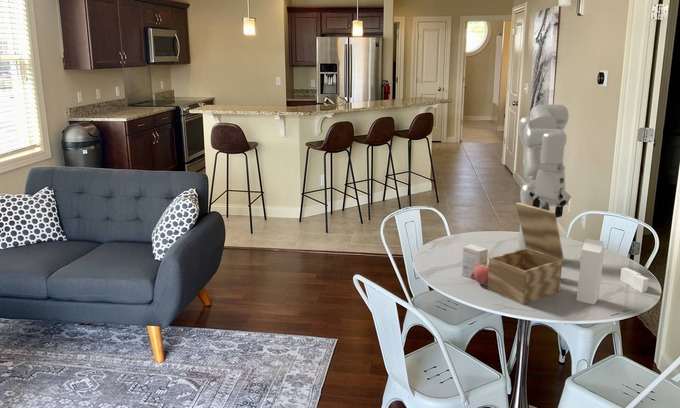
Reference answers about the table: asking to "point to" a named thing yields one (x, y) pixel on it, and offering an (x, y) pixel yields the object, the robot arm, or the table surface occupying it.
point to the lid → (540, 229)
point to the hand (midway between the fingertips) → (546, 213)
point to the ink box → (473, 259)
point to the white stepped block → (634, 279)
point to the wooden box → (524, 275)
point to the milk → (590, 271)
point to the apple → (481, 274)
